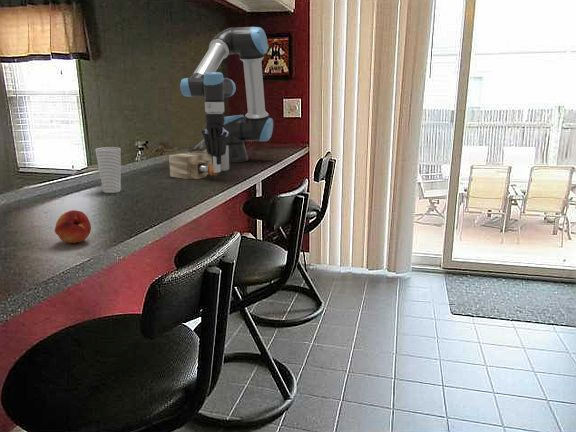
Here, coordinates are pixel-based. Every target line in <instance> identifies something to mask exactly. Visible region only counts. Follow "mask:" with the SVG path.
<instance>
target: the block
mask: <svg viewBox="0 0 576 432" xmlns="http://www.w3.org/2000/svg"><path fill="white" fill-rule="evenodd" d="M192 149H193V148H188V152H183V153H182V152H181V153H176V154H170V155H168V159H169V160H168V162H169V175H170V176H169V177H171V178H177V179H179V178H180V179H185V180H188V179H195V180H198V179H199V180H200V179H204V178H207V175H209V174H208V172H200V171H198V165H203V166H209V165H210V164H212V156H211V155H210V154H208V153H207V152H204V151H205V150H203V148H202V149H201V150H200V151H195V152H193V151H192Z"/></svg>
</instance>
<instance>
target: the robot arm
mask: <svg viewBox="0 0 576 432" xmlns="http://www.w3.org/2000/svg"><path fill="white" fill-rule="evenodd" d="M268 47H269V43H268V37H267V35H266V32H265V30H264V29H263V28H262V27H259V26H243V27H228V28H226V29H224V30H222V31H220V32H219V33H217V34H216V35H215V36H214V37H213V38H212V40H211V41H210V42H209V45H208V50H207V51H206V53H205V55H204V56H203V58H202V59H201V60H200V62H199V64H198V66H197V67H196V69H195V70H194V72H193V73H192V75H191V76H190V78H189V77H186V78H184V77H183V78H182V79H181V81H180V83H179V89H180V93H181V95H182V96H184V97H190V98H204V112H205V114H204V116H205V117H204V118H205V119H204V120H205V124H206V127H205V129H202V130H201V134H202V136H203V139H204V140H205V144H206V145H205V150H206V149H207V153H208V154H210V155H211V156H212V164H213V172H214V173H218V172H219V173H221V172H222V171H220V164H221V156H222V155H225V152H226V146H227V145H228V148H229V163H244V162H248V161H249V155H248V153H247V150H246V146H245V141H246V142H268V141H269V140H270V139H271V138H272V135H273V131H274V130H273V129H274V119H273V118H271V117H270V114H269V113H268V112H267V111H266V107H265V106H266V104H265V102H266V101H265V91H264V90H265V89H264V79H263V78H264V75H263V68H262V67H263V65H262V63H263V62H262V61H263V60H264V58H265V54H267V52H268V51H269V49H268ZM230 55H238V56H239V60H240V61H241V62H242V63H243V73H244V82H245V83H244V84H245V95H246V104H247V106H246V107H247V113H246V114H245V115H244V114H238V115H236V114H235V115H229V116H225V114H224V113H225V98H230V97H232V96H234V94H235V92H236V91H237V87H236V83H235V82H234V80H232V79H230V78H228V77H224V74H223V73H222V72H219V71H217V70H219V69H218V68H219V67H220V65H221V64H222V62H223V60H224V59H226V58H227V57H228V56H230ZM219 173H218V174H219Z"/></svg>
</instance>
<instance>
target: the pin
mask: <svg viewBox="0 0 576 432" xmlns="http://www.w3.org/2000/svg"><path fill="white" fill-rule="evenodd" d="M198 171H200V172H208V175H209V176H214V177H217V176H218V175H219V174H220V172H218V173H214V172H213V164H210V165H209V166H203V165H198Z"/></svg>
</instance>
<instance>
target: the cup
mask: <svg viewBox="0 0 576 432" xmlns="http://www.w3.org/2000/svg"><path fill="white" fill-rule="evenodd" d="M94 151H95V155H96V162H97V167H98V173H99V178H100V182H101V187H102V188H101V189H102V191H103V193H105V194H113V193H119V192H121V191H122V185H121V183H122V177H121V176H122V175H121V174H122V173H121V172H122V168H121V167H122V162H121V161H122V159H121V158H122V157H121V156H122V154H121V153H122V152H121V151H122V149H121V147H117V146H106V147H96V148H95V149H94Z"/></svg>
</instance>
